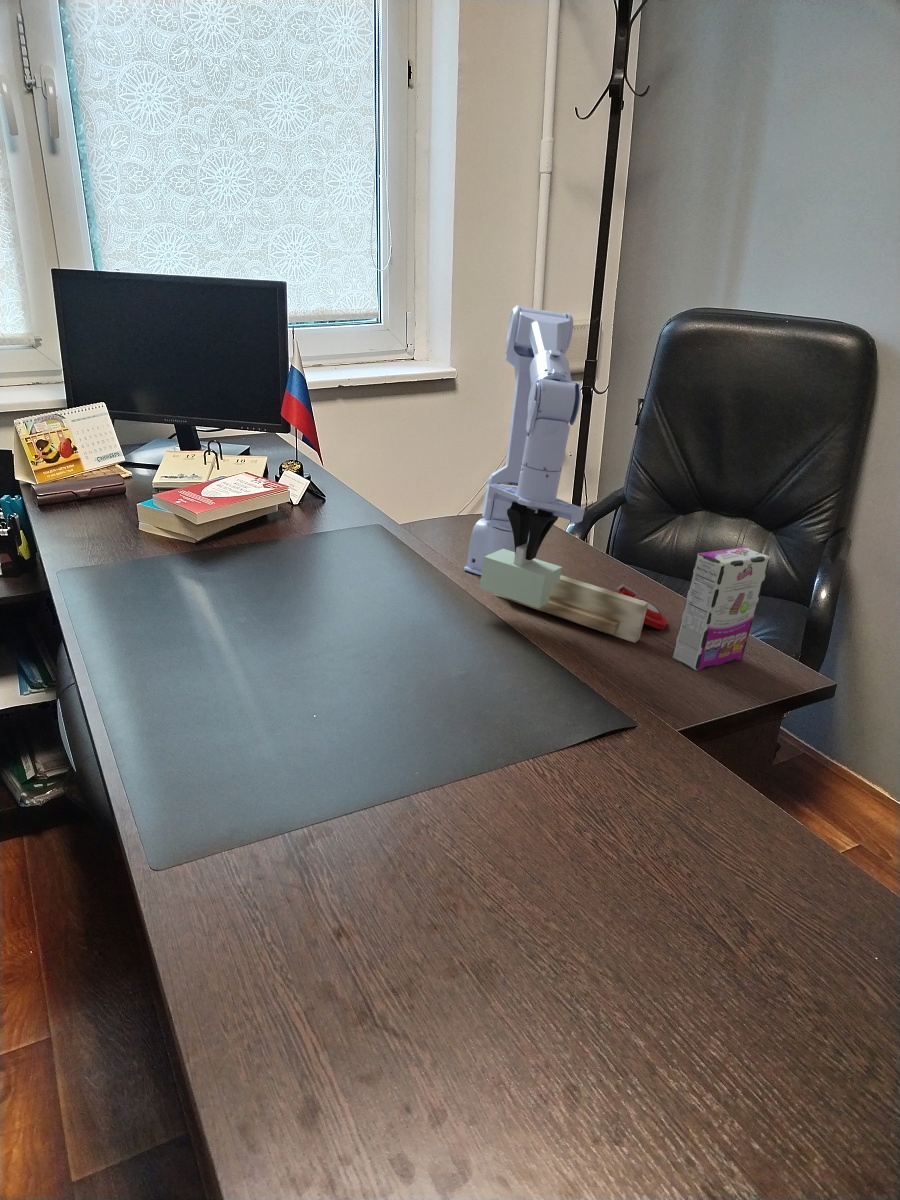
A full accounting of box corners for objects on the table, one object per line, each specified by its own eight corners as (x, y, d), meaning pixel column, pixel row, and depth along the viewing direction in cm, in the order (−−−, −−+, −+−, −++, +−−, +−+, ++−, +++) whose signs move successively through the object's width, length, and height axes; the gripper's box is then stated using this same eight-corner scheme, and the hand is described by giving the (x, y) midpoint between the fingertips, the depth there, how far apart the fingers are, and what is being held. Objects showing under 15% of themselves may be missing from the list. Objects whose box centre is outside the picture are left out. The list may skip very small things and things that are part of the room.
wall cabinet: (479, 588, 125) (486, 540, 122) (497, 578, 130) (505, 533, 127) (538, 608, 120) (548, 559, 118) (555, 598, 125) (565, 551, 123)
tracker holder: (681, 621, 134) (649, 617, 126) (666, 643, 135) (633, 640, 128) (629, 579, 141) (596, 573, 134) (615, 600, 142) (581, 595, 135)
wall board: (488, 598, 133) (494, 562, 131) (500, 592, 136) (506, 557, 134) (630, 646, 123) (639, 609, 121) (639, 639, 126) (648, 602, 124)
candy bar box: (715, 646, 128) (743, 545, 122) (742, 660, 124) (773, 556, 118) (668, 657, 121) (696, 551, 115) (695, 672, 118) (726, 563, 112)
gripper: (483, 457, 118) (469, 548, 123) (577, 482, 112) (558, 576, 117) (506, 453, 124) (492, 539, 129) (596, 476, 118) (577, 566, 123)
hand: (525, 556), depth 123 cm, fingers closed on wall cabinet
